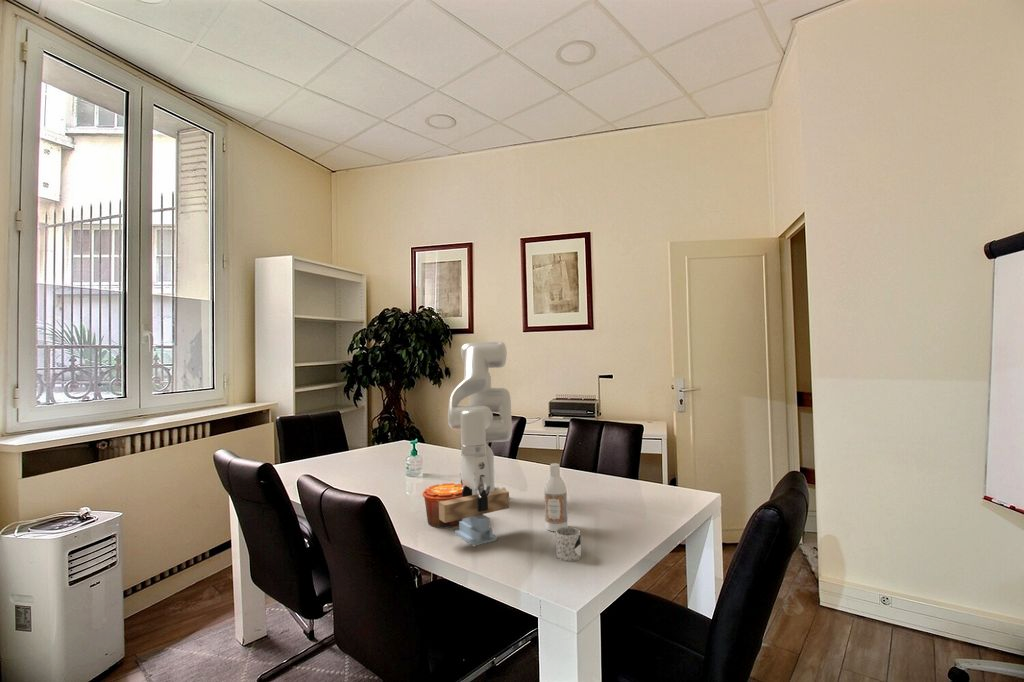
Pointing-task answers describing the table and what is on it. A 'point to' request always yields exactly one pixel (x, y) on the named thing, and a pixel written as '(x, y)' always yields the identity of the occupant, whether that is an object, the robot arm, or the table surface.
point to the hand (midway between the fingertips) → (474, 506)
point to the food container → (437, 495)
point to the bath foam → (555, 500)
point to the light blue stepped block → (476, 530)
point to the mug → (568, 544)
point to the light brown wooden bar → (472, 506)
